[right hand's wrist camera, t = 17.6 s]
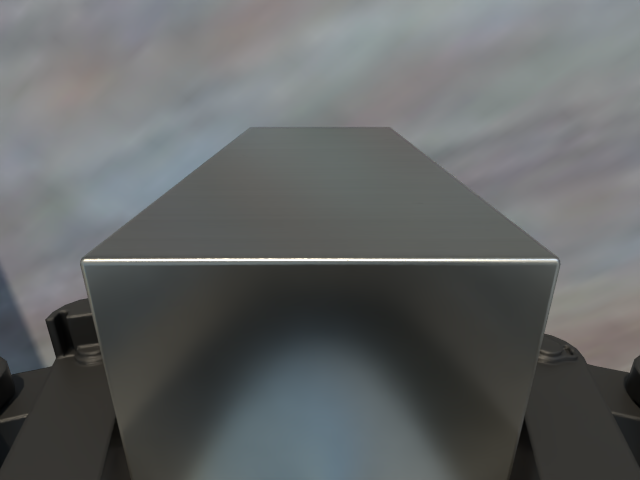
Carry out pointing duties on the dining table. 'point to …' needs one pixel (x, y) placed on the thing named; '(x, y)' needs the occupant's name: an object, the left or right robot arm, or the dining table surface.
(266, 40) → the dining table surface
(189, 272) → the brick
